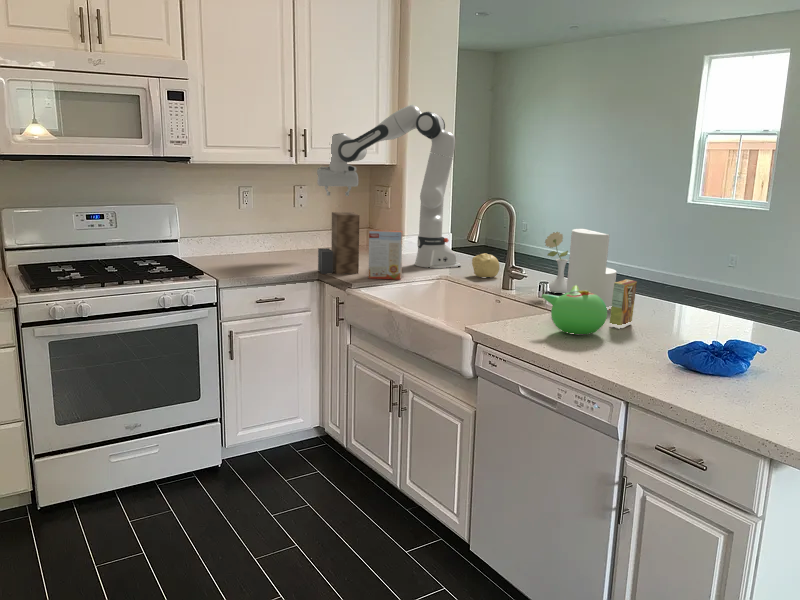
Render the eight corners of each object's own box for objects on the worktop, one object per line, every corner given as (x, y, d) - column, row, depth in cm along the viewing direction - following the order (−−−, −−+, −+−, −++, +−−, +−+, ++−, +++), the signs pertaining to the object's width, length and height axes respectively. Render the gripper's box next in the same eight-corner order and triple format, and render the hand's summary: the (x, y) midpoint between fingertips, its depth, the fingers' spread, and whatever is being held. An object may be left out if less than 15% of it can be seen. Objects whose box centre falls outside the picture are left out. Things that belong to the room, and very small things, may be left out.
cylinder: (580, 312, 243) (588, 234, 237) (556, 301, 260) (563, 228, 253) (622, 310, 248) (630, 234, 242) (596, 299, 264) (603, 228, 258)
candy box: (620, 322, 230) (625, 278, 226) (632, 325, 227) (637, 280, 224) (608, 327, 223) (613, 282, 220) (620, 330, 221) (625, 284, 217)
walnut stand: (352, 268, 313) (353, 212, 307) (358, 273, 301) (359, 215, 295) (331, 269, 310) (331, 212, 304) (336, 273, 298) (337, 215, 293)
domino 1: (328, 270, 307) (329, 248, 305) (329, 270, 306) (329, 248, 303) (318, 270, 306) (318, 248, 304) (318, 270, 304) (318, 249, 302)
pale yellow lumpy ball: (467, 275, 306) (468, 251, 304) (490, 274, 310) (492, 250, 308) (479, 280, 296) (480, 255, 293) (503, 278, 300) (504, 255, 298)
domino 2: (330, 271, 304) (330, 249, 302) (331, 272, 302) (331, 250, 300) (319, 271, 303) (319, 249, 300) (320, 272, 301) (320, 250, 299)
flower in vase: (570, 290, 280) (575, 230, 274) (576, 296, 268) (582, 234, 263) (538, 289, 280) (543, 229, 274) (543, 295, 269) (548, 233, 263)
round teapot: (578, 344, 203) (582, 296, 200) (536, 330, 216) (540, 286, 213) (615, 336, 213) (620, 290, 210) (573, 323, 227) (577, 281, 223)
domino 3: (331, 272, 301) (332, 250, 298) (332, 273, 299) (332, 251, 297) (320, 273, 299) (320, 250, 297) (321, 273, 298) (321, 251, 296)
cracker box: (401, 277, 295) (403, 230, 290) (400, 280, 289) (401, 231, 284) (369, 276, 296) (371, 228, 292) (367, 278, 290) (369, 230, 286)
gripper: (318, 167, 325) (318, 195, 328) (359, 167, 331) (359, 196, 334) (316, 166, 331) (315, 194, 334) (356, 167, 337) (356, 195, 340)
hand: (337, 195), depth 334 cm, fingers open, 8 cm apart
